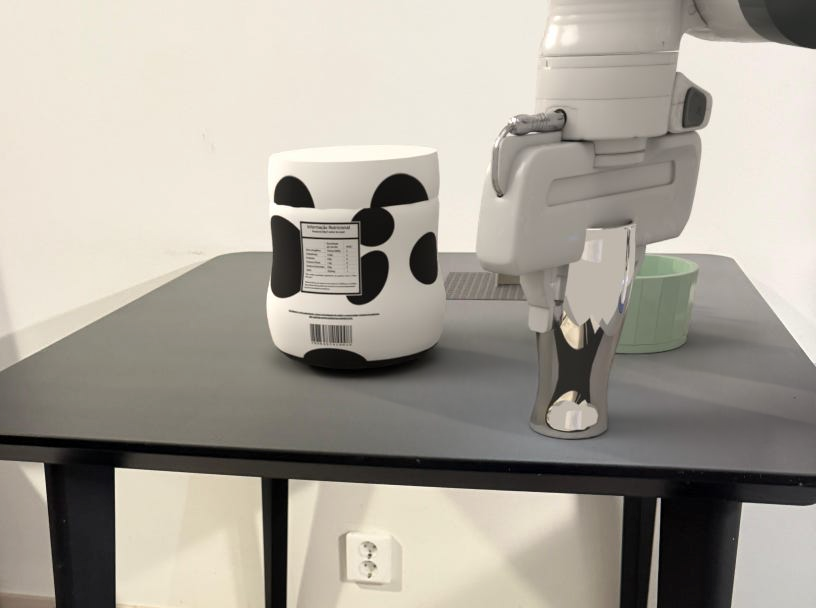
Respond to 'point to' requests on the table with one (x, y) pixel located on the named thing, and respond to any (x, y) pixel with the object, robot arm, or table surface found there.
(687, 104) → the robot arm
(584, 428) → the beer glass
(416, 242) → the milk container
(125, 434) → the table surface
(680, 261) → the ceramic cup
